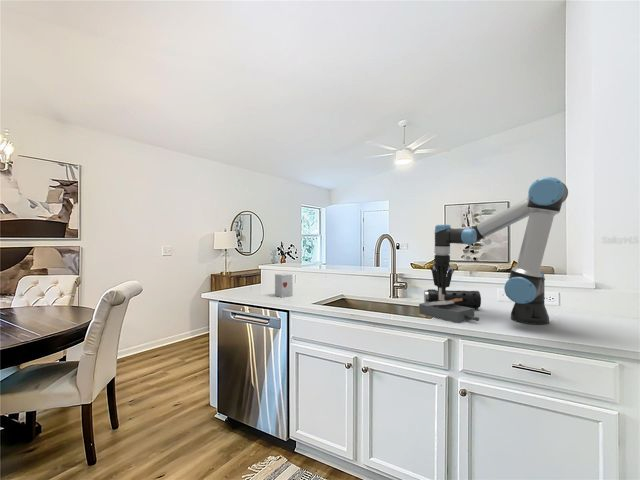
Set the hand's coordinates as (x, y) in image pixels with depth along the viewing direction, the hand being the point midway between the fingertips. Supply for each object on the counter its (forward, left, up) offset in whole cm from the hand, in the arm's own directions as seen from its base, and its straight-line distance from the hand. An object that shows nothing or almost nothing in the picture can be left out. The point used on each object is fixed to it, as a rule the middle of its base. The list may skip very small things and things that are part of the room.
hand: (441, 300), depth 167 cm
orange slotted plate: (-5, 0, 0) cm, 5 cm away
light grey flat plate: (-5, +7, 0) cm, 9 cm away
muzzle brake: (+4, -14, -7) cm, 16 cm away
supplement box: (+92, +45, -7) cm, 103 cm away
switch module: (-8, +3, -7) cm, 11 cm away
